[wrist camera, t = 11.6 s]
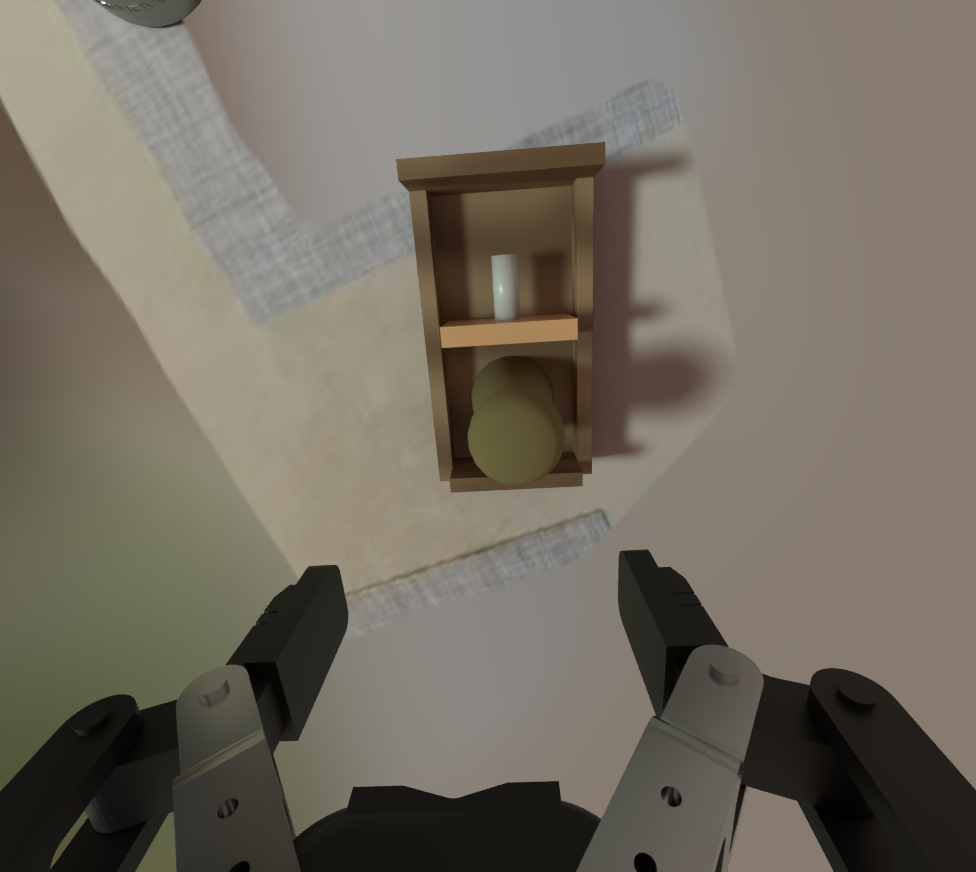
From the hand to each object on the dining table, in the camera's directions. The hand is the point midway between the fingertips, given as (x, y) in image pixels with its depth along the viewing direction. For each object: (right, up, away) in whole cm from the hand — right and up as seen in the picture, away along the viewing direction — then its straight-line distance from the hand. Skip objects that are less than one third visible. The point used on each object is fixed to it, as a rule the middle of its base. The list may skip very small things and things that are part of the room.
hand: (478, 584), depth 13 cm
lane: (+2, +12, +20) cm, 23 cm away
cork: (+2, +7, +20) cm, 22 cm away
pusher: (+1, +14, +18) cm, 22 cm away
